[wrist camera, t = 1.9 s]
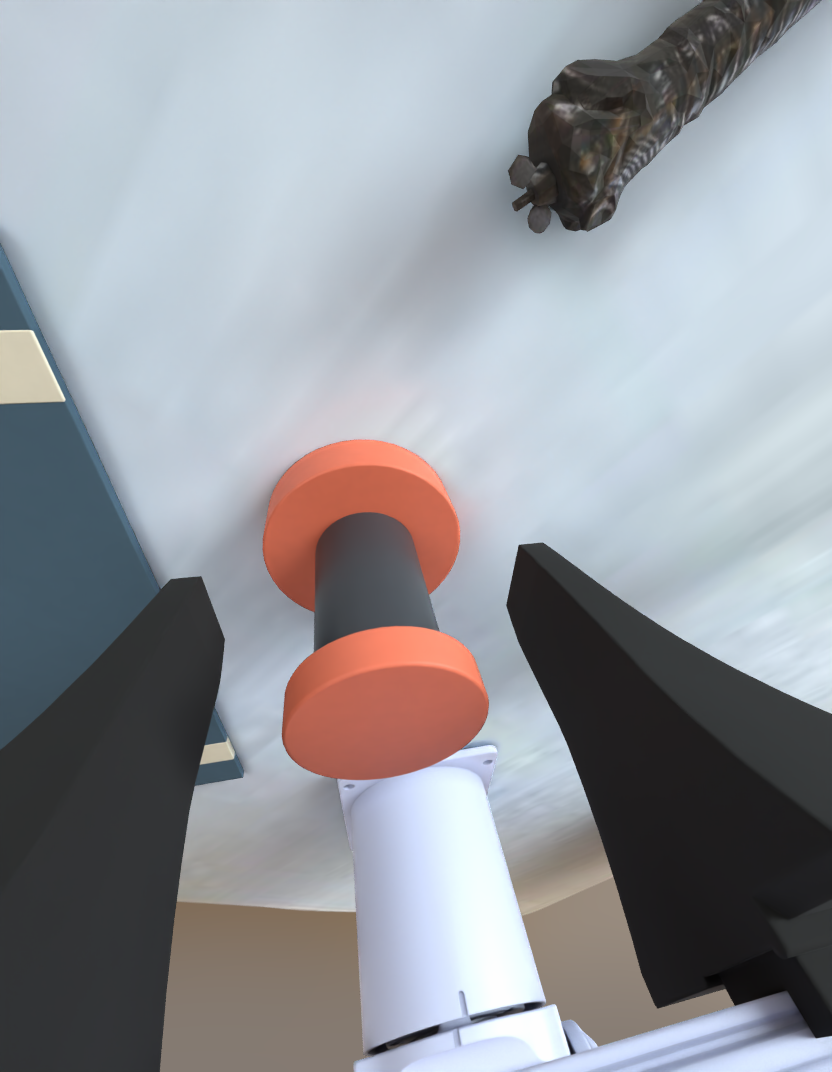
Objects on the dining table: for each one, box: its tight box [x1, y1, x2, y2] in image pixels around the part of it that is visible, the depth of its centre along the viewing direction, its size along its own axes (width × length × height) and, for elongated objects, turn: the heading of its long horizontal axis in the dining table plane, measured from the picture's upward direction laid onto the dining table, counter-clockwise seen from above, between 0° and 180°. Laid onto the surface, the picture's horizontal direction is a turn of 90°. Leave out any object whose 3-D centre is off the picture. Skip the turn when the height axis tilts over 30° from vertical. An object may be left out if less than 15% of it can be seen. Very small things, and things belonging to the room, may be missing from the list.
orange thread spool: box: [263, 440, 489, 780], centre depth 10 cm, size 5×5×6 cm
